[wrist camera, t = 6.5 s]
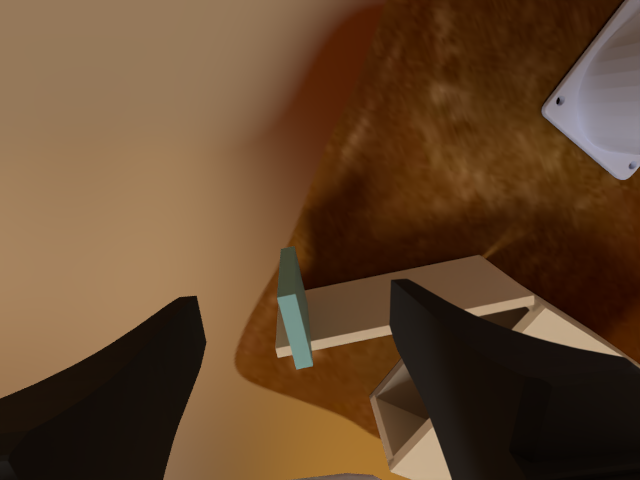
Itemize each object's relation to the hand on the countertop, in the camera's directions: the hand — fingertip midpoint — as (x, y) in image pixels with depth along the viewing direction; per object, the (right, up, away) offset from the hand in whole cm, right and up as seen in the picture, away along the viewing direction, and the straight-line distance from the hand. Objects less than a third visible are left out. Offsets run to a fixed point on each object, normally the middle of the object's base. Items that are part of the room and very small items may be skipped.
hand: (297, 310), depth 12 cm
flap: (+5, +2, +10) cm, 11 cm away
